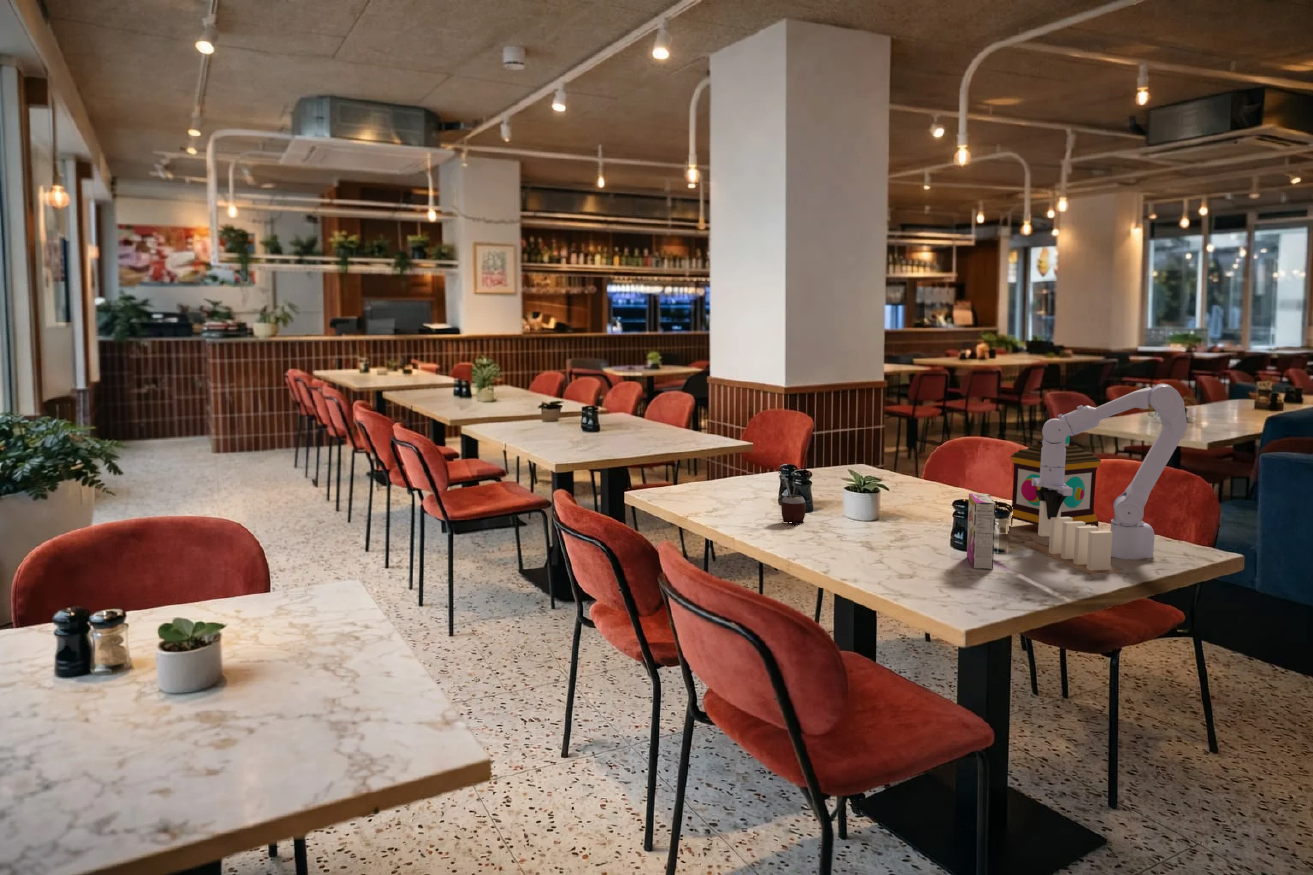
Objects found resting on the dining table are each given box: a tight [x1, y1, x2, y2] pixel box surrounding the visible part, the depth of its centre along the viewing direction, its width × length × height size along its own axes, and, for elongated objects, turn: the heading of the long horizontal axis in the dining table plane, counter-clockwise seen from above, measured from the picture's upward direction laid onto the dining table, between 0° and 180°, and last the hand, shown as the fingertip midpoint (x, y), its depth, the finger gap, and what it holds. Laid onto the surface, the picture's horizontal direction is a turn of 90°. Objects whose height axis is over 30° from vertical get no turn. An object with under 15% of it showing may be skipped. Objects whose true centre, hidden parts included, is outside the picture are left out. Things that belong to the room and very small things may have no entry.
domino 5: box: [1086, 530, 1113, 571], centre depth 208 cm, size 2×5×9 cm, turn 99°
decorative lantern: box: [1010, 435, 1102, 527], centre depth 249 cm, size 20×20×30 cm
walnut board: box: [1025, 543, 1124, 575], centre depth 218 cm, size 9×26×1 cm, turn 9°
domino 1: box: [1037, 501, 1061, 537], centre depth 227 cm, size 2×5×9 cm, turn 100°
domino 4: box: [1073, 525, 1100, 565], centre depth 213 cm, size 2×5×9 cm, turn 99°
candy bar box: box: [966, 492, 997, 570], centre depth 216 cm, size 11×5×16 cm, turn 168°
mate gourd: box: [777, 470, 807, 526], centre depth 259 cm, size 8×8×15 cm
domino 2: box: [1048, 517, 1073, 554], centre depth 223 cm, size 2×5×9 cm, turn 99°
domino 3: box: [1061, 521, 1086, 559], centre depth 218 cm, size 2×5×9 cm, turn 99°
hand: (1049, 518), depth 227 cm, fingers closed on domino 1, 1 cm apart
